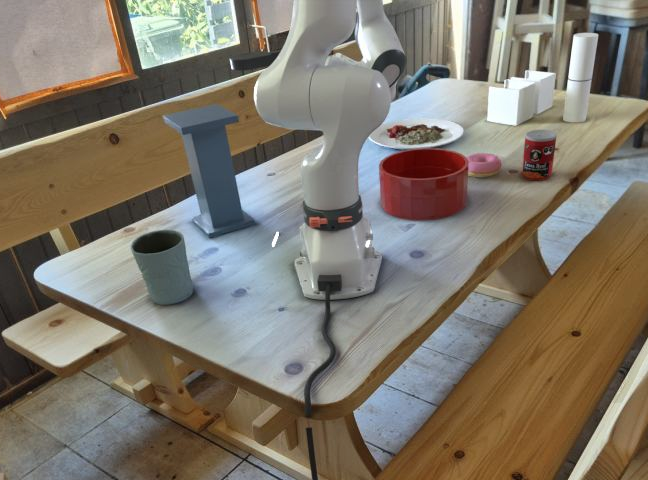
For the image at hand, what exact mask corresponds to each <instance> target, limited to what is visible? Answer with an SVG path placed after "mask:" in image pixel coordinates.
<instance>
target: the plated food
mask: <svg viewBox="0 0 648 480" xmlns="http://www.w3.org/2000/svg"><path fill="white" fill-rule="evenodd" d="M463 135H464V128H463V126H461V125H460V124H458V123H457V122H453V121H450V120H448V119H447V120H446V119H442V118H441V119H440V118H429V117H428V118H425V117H419V118H417V117H416V118H405V119H399V120H394V121H390V122H386V123H382V124H381V125H380V126H379V127H378V128H377V129H376V130H374V131H373V132H372V133H371V134H370V135H369V137H368V138H369V140H370V141H371V142H372V143H374V144H376V145H378V146H382V147H385V148H391V149H395V150H402V151H405V150H411V149H421V148H438V147H441V146H444V145H448V144H451V143H453V142H456V141H457V140H459V139H460V138H461V137H462V136H463Z"/></svg>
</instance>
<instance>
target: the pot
mask: <svg viewBox="0 0 648 480" xmlns="http://www.w3.org/2000/svg"><path fill="white" fill-rule="evenodd" d="M468 174H469V161H468V159H467V156H465V155H464V154H462V153H460V152H457V151H454V150H450V149H445V148H437V147H434V148H421V149H411V150H401V151H398V152H394V153H391V154H389V155H387V156H385V157H384V158H383V159H382V160H380V163H379V164H378V175H379V176H378V177H379V193H380V207H381V208H382V210H384V212H385V213H386V214H388V215H390V216H393V217H396V218H399V219H403V220H410V221H431V220H440V219H444V218H447V217H450V216H453V215H456V214H458V213H460V212H461V211H463V210H464V209H465V208H466V207H467V204H468V197H469V196H468V195H469V175H468Z"/></svg>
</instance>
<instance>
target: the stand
mask: <svg viewBox="0 0 648 480" xmlns="http://www.w3.org/2000/svg"><path fill="white" fill-rule="evenodd" d="M162 119H163V122H164V123H165V124H166V125H167V126H169V127H170V128H172V129H173V130H175V131H176V132H178V133H179V134H180V135H181V139H182V143H183V147H184V151H185V155H186V160H187V162H188V163H187V164H188V167H189V171H190V175H191V176H190V177H191V180H192V184H193V187H194V191H195V196H196V201H197V204H198V209H199V212H200V214H199V215H196V216H192V217H191V221H192V223H193V224H194V225H195V226H196V227H197V228H198V229H199V230H200V231H202V233H204V235H205V236H207V238H209V239H211V238H215V237H218V236H222V235H224V234H227V233H231V232H234V231H237V230H240V229H241V230H242V229H244V228H247V227H250V226H254V225H256V219H254V218H253V217H252V216H251V215H249V213H247V211H244V210H243V208H242V207H243V206H242V203H241V198H240V193H239V189H238V183H237V178H236V173H235V168H234V163H233V159H232V153H231V147H230V142H229V138H228V132H227V128H226V126H229V125H232V124H236V123H239V122H240V119H239V115H238V114H236V113H235V112H233V111H230V110H229V109H227V108H225V107H223V106H221V105H219V104H217V103H214V104H211V105H210V104H209V105H206V106H200V107H196V108H192V109H187V110H183V111H179V112H172V113H168V114H164V115H162Z"/></svg>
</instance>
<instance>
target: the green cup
mask: <svg viewBox="0 0 648 480" xmlns="http://www.w3.org/2000/svg"><path fill="white" fill-rule="evenodd" d="M130 251H131V252H132V255H133V258H134V260H135V262H136V264H137V267H138V269H139V271H140V273H141V276H142V279H143V281H144V283H145V286H146V290H147V293H148V295H149V297H150V299H151V301H152V302H153V303H155V304H156V305H161V306H168V305H169V306H170V305H175V304H179V303H182V302H183V301H185V300H187V299H188V298H190V297H191V296H192V294H193V293H194V285H193V280H192V276H191V271H190V265H189V261H188V257H187V248H186V242H185V237H184V234H183V233H182V232H180V231H177V230H174V229H158V230H153V231H149V232H147V233H144V234H141V235H140V236H138V237H136V238H135V239H134V240H133V241H132V242H131V244H130Z"/></svg>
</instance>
